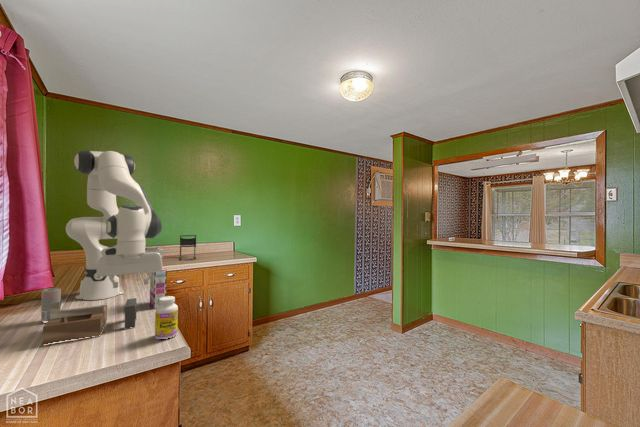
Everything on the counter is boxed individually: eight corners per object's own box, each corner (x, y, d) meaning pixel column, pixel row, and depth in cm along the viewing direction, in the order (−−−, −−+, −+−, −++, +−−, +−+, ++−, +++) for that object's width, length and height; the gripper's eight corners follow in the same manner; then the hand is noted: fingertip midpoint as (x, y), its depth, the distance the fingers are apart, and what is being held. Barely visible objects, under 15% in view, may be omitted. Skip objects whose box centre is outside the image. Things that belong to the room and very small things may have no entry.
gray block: (126, 319, 107) (127, 299, 107) (136, 318, 109) (136, 298, 109) (124, 329, 99) (124, 306, 99) (134, 327, 100) (135, 305, 100)
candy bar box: (166, 307, 123) (167, 269, 123) (153, 309, 119) (154, 271, 119) (161, 300, 131) (161, 265, 131) (149, 302, 128) (149, 267, 128)
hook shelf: (57, 327, 99) (58, 297, 99) (106, 320, 107) (107, 291, 107) (42, 346, 86) (43, 310, 86) (100, 336, 93) (100, 303, 93)
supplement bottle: (156, 342, 89) (156, 302, 89) (153, 335, 94) (154, 297, 94) (179, 337, 93) (179, 298, 93) (175, 330, 98) (176, 294, 98)
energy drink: (59, 317, 109) (59, 286, 109) (61, 320, 106) (62, 289, 106) (40, 321, 105) (40, 289, 105) (42, 325, 102) (42, 292, 102)
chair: (179, 260, 239) (179, 235, 239) (179, 257, 254) (180, 233, 254) (196, 259, 244) (196, 234, 244) (195, 257, 260) (195, 233, 260)
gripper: (163, 246, 112) (163, 280, 112) (98, 249, 101) (98, 287, 101) (163, 247, 106) (163, 284, 106) (95, 251, 96) (95, 291, 96)
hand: (131, 285), depth 104 cm, fingers open, 8 cm apart
